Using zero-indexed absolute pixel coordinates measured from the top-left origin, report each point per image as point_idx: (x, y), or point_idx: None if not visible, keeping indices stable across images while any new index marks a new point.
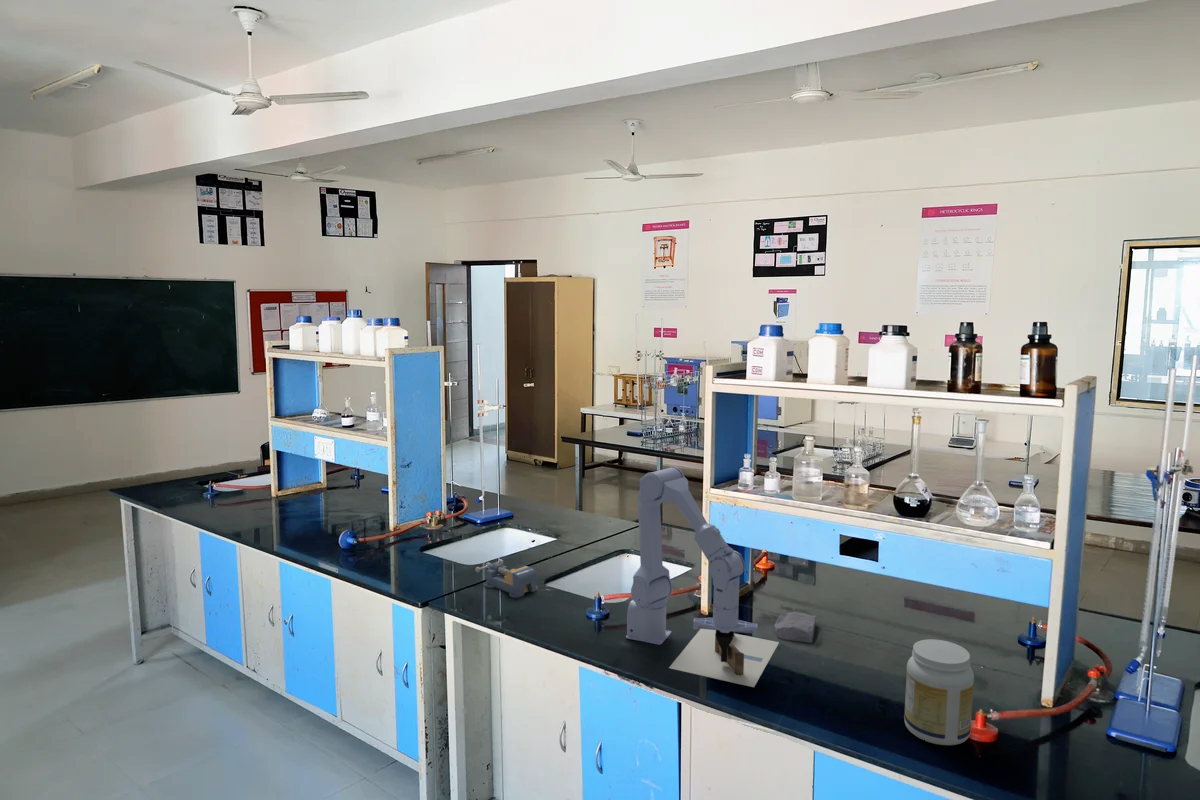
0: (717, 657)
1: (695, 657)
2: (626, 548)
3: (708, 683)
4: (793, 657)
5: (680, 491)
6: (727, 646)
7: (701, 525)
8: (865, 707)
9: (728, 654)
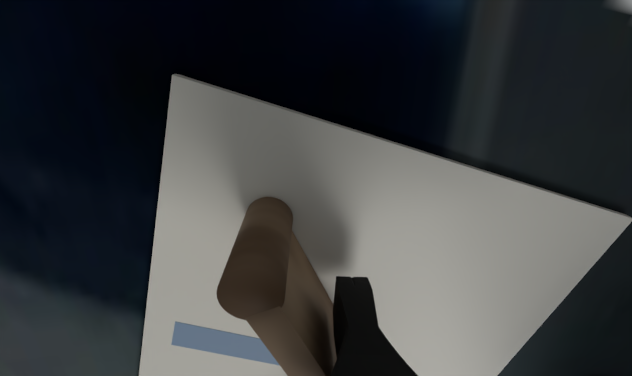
0: None
1: (470, 318)
2: None
3: (443, 101)
4: (57, 368)
5: None
6: (344, 357)
7: None
8: None
9: (326, 327)
